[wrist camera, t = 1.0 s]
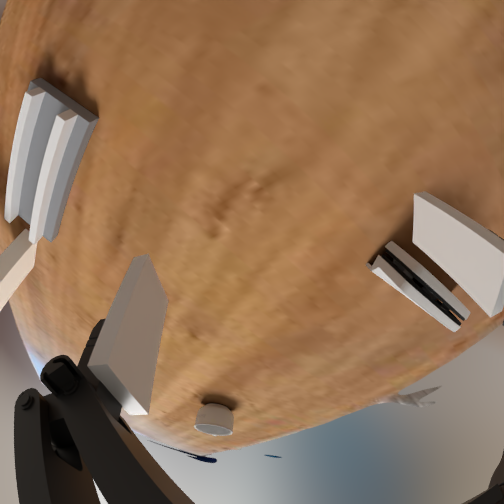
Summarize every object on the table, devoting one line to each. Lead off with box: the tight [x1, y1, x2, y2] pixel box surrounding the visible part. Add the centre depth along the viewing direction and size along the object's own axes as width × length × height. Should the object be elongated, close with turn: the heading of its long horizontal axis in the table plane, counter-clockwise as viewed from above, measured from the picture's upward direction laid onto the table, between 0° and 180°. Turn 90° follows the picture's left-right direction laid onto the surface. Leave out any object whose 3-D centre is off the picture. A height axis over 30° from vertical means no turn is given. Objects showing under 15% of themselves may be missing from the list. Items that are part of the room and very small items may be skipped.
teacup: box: [194, 403, 234, 436], centre depth 75 cm, size 14×11×8 cm
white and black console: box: [366, 241, 470, 332], centre depth 34 cm, size 17×5×10 cm, turn 58°
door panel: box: [0, 228, 37, 311], centre depth 40 cm, size 10×4×16 cm, turn 141°
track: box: [4, 78, 99, 245], centre depth 32 cm, size 24×12×4 cm, turn 141°
